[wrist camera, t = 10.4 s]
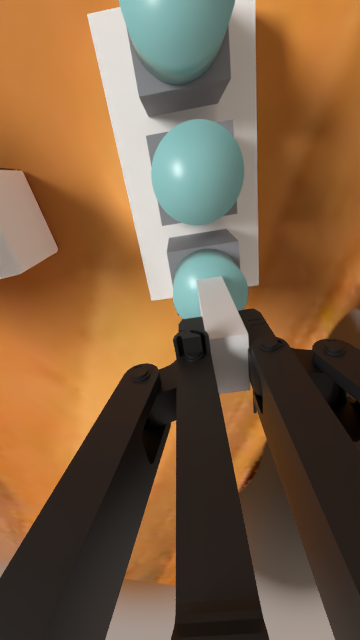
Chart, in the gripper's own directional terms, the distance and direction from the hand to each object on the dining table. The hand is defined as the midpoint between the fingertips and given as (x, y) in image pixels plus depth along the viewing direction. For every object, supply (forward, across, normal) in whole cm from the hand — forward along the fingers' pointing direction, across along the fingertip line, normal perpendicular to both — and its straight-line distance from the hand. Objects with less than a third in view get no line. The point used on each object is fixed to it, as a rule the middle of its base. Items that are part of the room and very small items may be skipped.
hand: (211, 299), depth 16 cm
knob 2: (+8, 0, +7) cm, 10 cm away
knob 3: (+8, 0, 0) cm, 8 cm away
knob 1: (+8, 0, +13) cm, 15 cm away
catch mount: (+11, 0, +7) cm, 13 cm away
